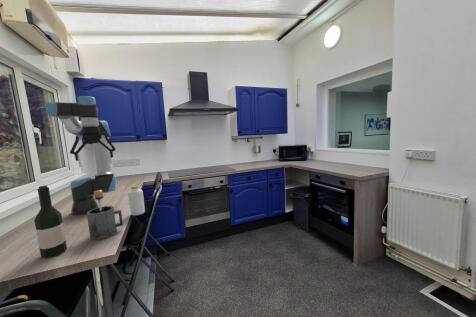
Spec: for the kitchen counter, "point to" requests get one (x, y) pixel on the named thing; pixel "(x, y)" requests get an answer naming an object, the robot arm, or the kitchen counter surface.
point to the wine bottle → (49, 227)
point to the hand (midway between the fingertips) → (96, 165)
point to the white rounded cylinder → (136, 201)
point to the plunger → (98, 198)
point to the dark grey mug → (103, 222)
